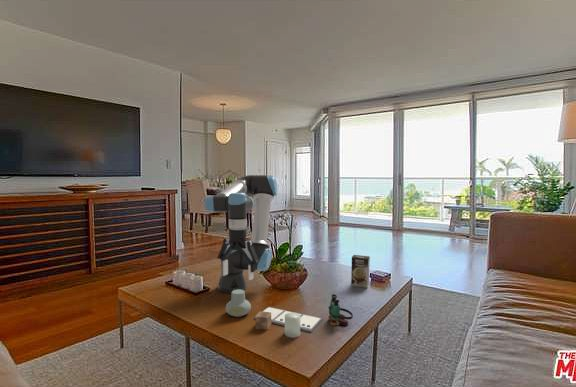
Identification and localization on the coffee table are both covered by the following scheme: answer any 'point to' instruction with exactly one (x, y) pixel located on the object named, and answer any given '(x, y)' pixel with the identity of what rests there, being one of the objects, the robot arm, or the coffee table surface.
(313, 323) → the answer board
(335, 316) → the binoculars
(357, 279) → the coffee box
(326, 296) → the coffee table surface
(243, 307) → the air freshener
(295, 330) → the pale green capsule
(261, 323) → the walnut block
